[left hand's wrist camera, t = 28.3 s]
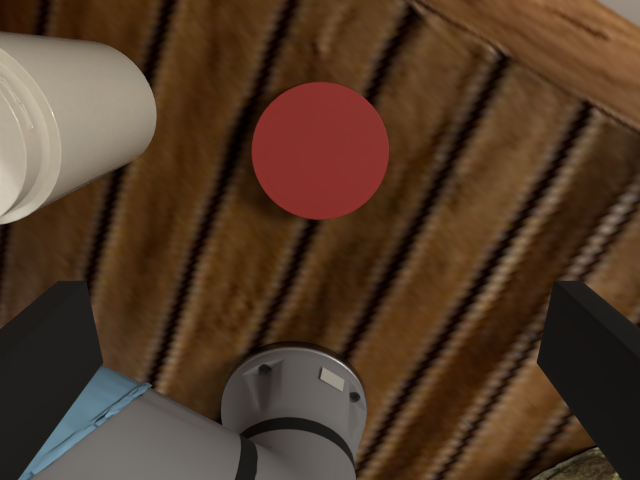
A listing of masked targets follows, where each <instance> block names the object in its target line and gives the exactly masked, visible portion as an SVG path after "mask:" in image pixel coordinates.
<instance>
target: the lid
mask: <svg viewBox="0 0 640 480" xmlns="http://www.w3.org/2000/svg"><path fill="white" fill-rule="evenodd" d="M388 158H389V145H388V137H387V133H386V130H385V127H384V124H383V122H382V120H381V118H380V116H379V115H378V113H377V112H376V110H375V109H374V108H373V106H372V105H371V104H370V103H369V102H368V101H367V100H366V99H365V98H363V97H362V96H361V95H360V94H358V93H357V92H355V91H354V90H352V89H350V88H348V87H346V86H343V85H341V84H338V83H333V82H327V81H313V82H307V83H303V84H300V85H297V86H294V87H292V88H290V89H288V90H287V91H285V92H284V93H282V94H281V95H279V96H278V97H277V98H276V99H275V100H274V101H272V102H271V103H270V105H269V106H268V107H267V108H266V109H265V111H264V112H263V114H262V115H261V117H260V119H259V121H258V123H257V125H256V128H255V131H254V134H253V140H252V162H253V167H254V171H255V174H256V176H257V179H258V181H259V183H260V185H261V187H262V188H263V189H264V191H265V192H266V194H267V195H268V196H269V197H270V198H271V199H272V200H273V201H274V202H275V203H276V204H277V205H278V206H280V207H281V208H283V209H284V210H286V211H288V212H290V213H292V214H294V215H297V216H300V217H303V218H308V219H316V220H323V219H332V218H337V217H340V216H344V215H346V214H348V213H351V212H353V211H354V210H356V209H358V208H359V207H360V206H362V205H363V204H364V203H366V202H367V201H368V200H369V199H370V198H371V197H372V195H373V194H374V193H375V191H376V190H377V189H378V187H379V185H380V184H381V182H382V180H383V177H384V175H385V172H386V168H387V164H388Z"/></svg>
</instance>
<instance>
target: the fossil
mask: <svg viewBox="0 0 640 480" xmlns="http://www.w3.org/2000/svg"><path fill="white" fill-rule="evenodd" d="M531 480H622V479H621V478H620V477H619V475H618V474H617V472H616V471H615V470H614V468H613V467H612V466H611V464H610V463H609V461H608V460H607V459H606V457H605V456H604V455H603V453H602V452H601V450H600V449H599V448H598V447H597V448H594V449H590V450H588V451H586V452H584V453H582V454H579V455H577V456H574V457H572V458H570V459H568V460H566V461H564V462H562V463H559V464H558V465H556V466H555V467H554V468H551V469H549V470H546V471H544V472H542V473H541V474H539V475H537V476H536V477H534V478H533V479H531Z"/></svg>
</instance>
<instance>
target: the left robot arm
mask: <svg viewBox="0 0 640 480" xmlns="http://www.w3.org/2000/svg"><path fill="white" fill-rule="evenodd" d="M102 364H103V359H102V354H101V350H100V345H99V340H98V335H97V331H96V326H95V321H94V317H93V312H92V307H91V303H90V298H89V293H88V289H87V284H86V281H58V282H57V283H56V284H54V285H53V286H52V287H51V288H50V289H48V290H47V291H46V292H45V293H43V294H42V295H41V296H40V297H39V298H37V299H36V300H35V301H34V302H33V303H31V304H30V305H29V306H28V307H27V308H25V309H24V310H23V311H22V312H21V313H19V314H18V315H17V316H16V317H14V318H13V319H12V320H11V321H10V322H8V323H7V324H6V325H5V326H4V327H2V328H1V329H0V480H356V476H355V466H354V461H355V457H356V454H357V451H358V447H359V444H360V441H361V438H362V434H363V431H364V428H365V424H366V416H367V401H366V394H365V389H364V385H363V382H362V380H361V378H360V376H359V375H358V373H357V371H356V370H355V369H354V367H353V366H352V365H351V364H350V363H349V362H348V361H346V360H345V359H344V358H343V357H341V356H340V355H339V354H337V353H335V352H333V351H331V350H329V349H327V348H325V347H322V346H319V345H315V344H311V343H305V342H282V343H276V344H272V345H268V346H265V347H263V348H260V349H258V350H256V351H254V352H252V353H251V354H249V355H248V356H246V357H245V358H244V359H242V360H241V361H240V362H239V363H238V364H237V365H236V367H235V368H234V369H233V371H232V372H231V374H230V375H229V378H228V380H227V382H226V386H225V389H224V392H223V396H222V405H221V418H222V425H223V426H222V425H220V424H219V423H217V422H215V421H213V420H211V419H209V418H207V417H205V416H203V415H201V414H199V413H197V412H195V411H193V410H191V409H189V408H187V407H185V406H183V405H181V404H179V403H178V402H176V401H174V400H172V399H170V398H168V397H166V396H164V395H163V394H161V393H159V392H157V391H155V390H153V389H151V388H150V387H151V386H152V385H151V384H149V383H147V382H146V383H140V382H138V381H136V380H134V379H132V378H129V377H127V376H125V375H123V374H120V373H118V372H116V371H114V370H112V369H109V368H107V367H103V366H101V365H102ZM537 364H538V365H539V367H540V368H541V369H542V371H543V372H544V373H545V375H546V376H547V378H548V379H549V380H550V382H551V383H552V384H553V386H554V387H555V389H556V390H557V391H558V393H559V394H560V395H561V397H562V398H563V400H564V401H565V402H566V404H567V405H568V406H569V408H570V409H571V411H572V412H573V413H574V415H575V416H576V417H577V419H578V420H579V422H580V423H581V424H582V426H583V427H584V428H585V430H586V431H587V433H588V434H589V435H590V437H591V438H592V439H593V441H594V442H595V444H596V445H597V446H598V448H599V449H600V450H601V452H602V453H603V455H604V456H605V457H606V459H607V460H608V461H609V463H610V464H611V466H612V467H613V468H614V470H615V471H616V472H617V474H618V475H619V477H620V478H621V479H622V480H640V329H639V328H638V327H636V326H635V325H634V324H633V323H632V322H630V321H629V320H628V319H627V318H626V317H624V316H623V315H622V314H621V313H619V312H618V311H617V310H616V309H615V308H613V307H612V306H611V305H610V304H609V303H607V302H606V301H605V300H604V299H603V298H601V297H600V296H599V295H598V294H597V293H595V292H594V291H593V290H592V289H590V288H589V287H588V286H587V285H586V284H584V283H583V282H582V281H554V284H553V289H552V293H551V298H550V303H549V307H548V312H547V317H546V321H545V326H544V331H543V335H542V340H541V345H540V350H539V354H538V359H537Z"/></svg>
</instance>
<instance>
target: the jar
mask: <svg viewBox="0 0 640 480" xmlns="http://www.w3.org/2000/svg"><path fill="white" fill-rule="evenodd" d="M155 127H156V105H155V100H154V97H153V93H152V91H151V88H150V86H149V84H148V82H147V80H146V78H145V77H144V75H143V74H142V72H141V71H140V70H139V68H138V67H137V66H136V65H135V64H134V63H133V62H132V61H131V60H130V59H129V58H128V57H126V56H125V55H124V54H122V53H121V52H119V51H118V50H116V49H114V48H112V47H110V46H108V45H105V44H103V43H99V42H95V41H88V40H78V39H69V38H59V37H50V36H40V35H30V34H21V33H11V32H1V31H0V224H6V223H10V222H13V221H17V220H19V219H21V218H23V217H26V216H28V215H30V214H32V213H34V212H35V211H37V210H39V209H41V208H43V207H45V206H47V205H49V204H51V203H53V202H55V201H57V200H59V199H61V198H63V197H65V196H66V195H68V194H70V193H72V192H74V191H76V190H78V189H80V188H82V187H84V186H86V185H88V184H90V183H92V182H94V181H96V180H97V179H99V178H101V177H103V176H105V175H107V174H109V173H111V172H113V171H115V170H117V169H119V168H121V167H123V166H125V165H127V164H128V163H130V162H132V161H134V160H135V159H137V158H138V157H139V156H140V155H141V154H142V153H143V152H144V151H145V150H146V148H147V147H148V145H149V144H150V142H151V140H152V137H153V135H154V131H155Z"/></svg>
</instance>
